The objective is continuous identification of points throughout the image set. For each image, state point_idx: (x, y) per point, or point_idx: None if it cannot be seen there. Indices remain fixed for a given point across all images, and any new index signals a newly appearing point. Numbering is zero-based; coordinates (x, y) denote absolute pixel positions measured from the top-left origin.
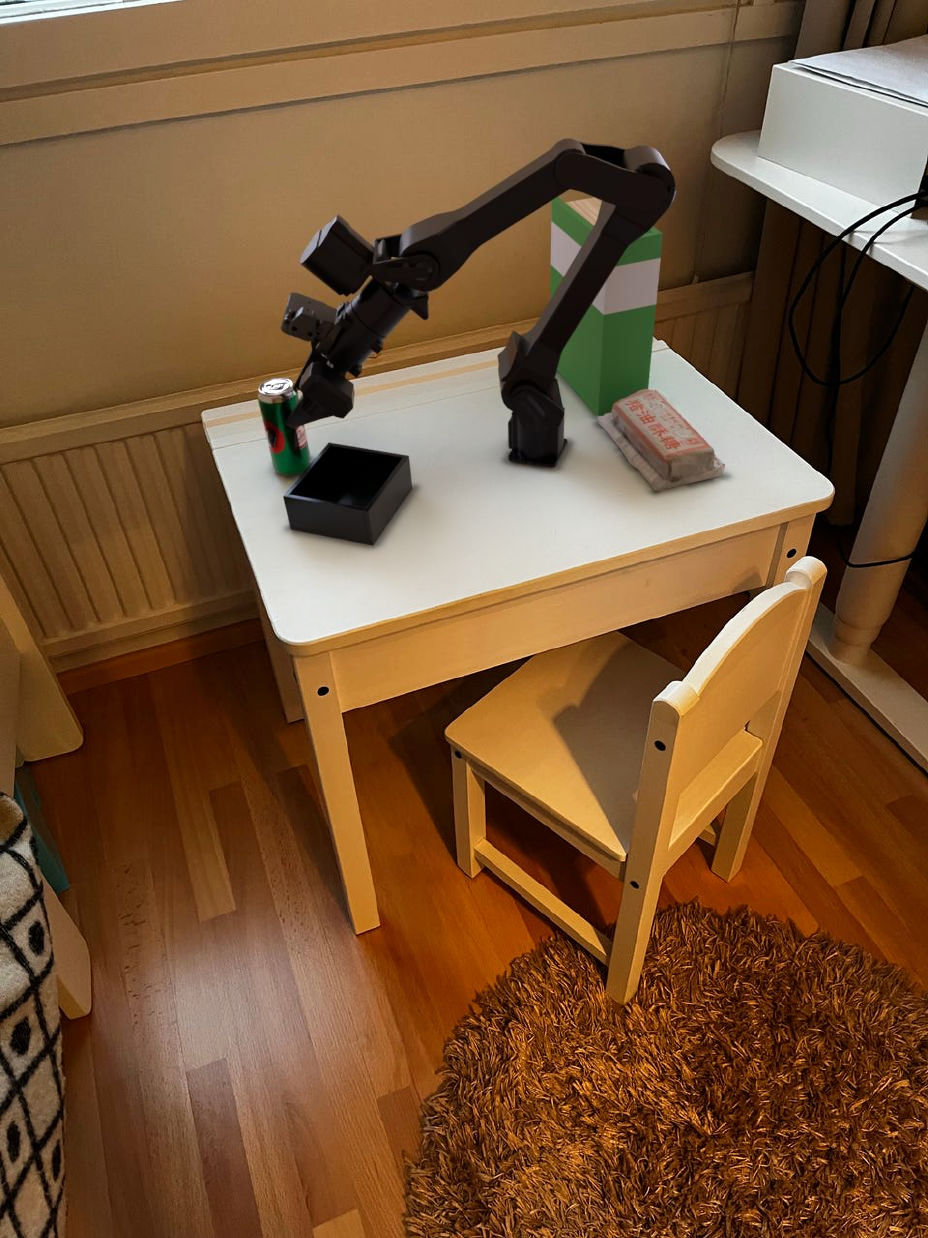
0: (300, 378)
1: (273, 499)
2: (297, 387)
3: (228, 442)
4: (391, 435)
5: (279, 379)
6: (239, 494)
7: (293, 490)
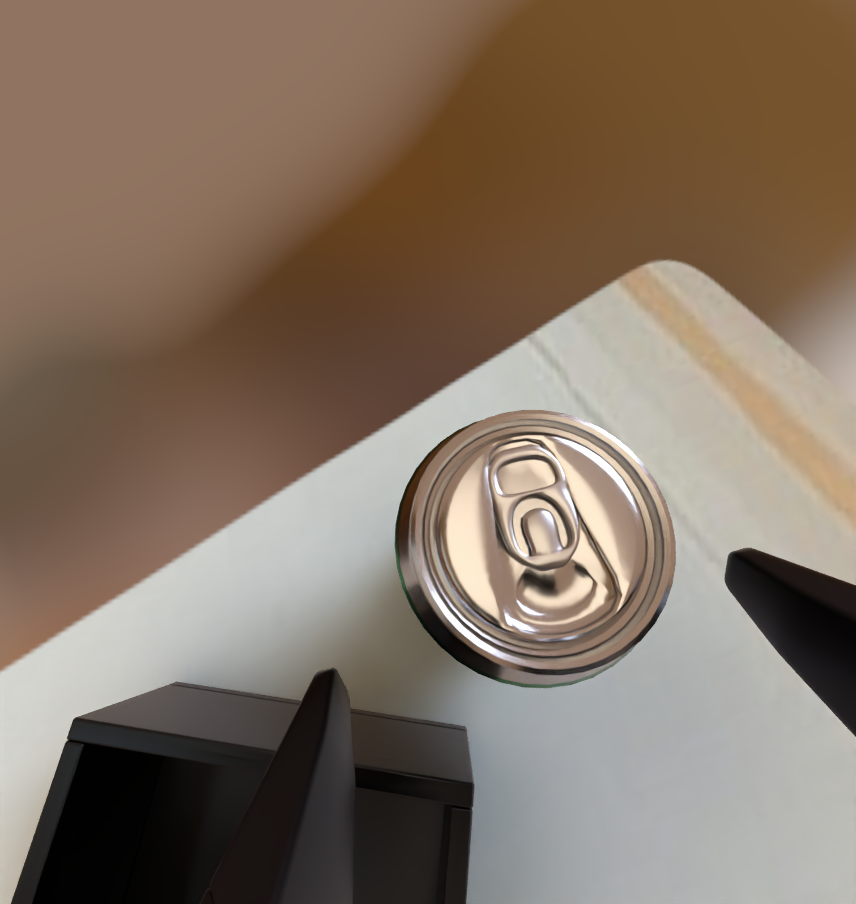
0: (793, 601)
1: (318, 569)
2: (732, 570)
3: (556, 341)
4: (769, 885)
5: (651, 511)
6: (333, 465)
7: (114, 747)
